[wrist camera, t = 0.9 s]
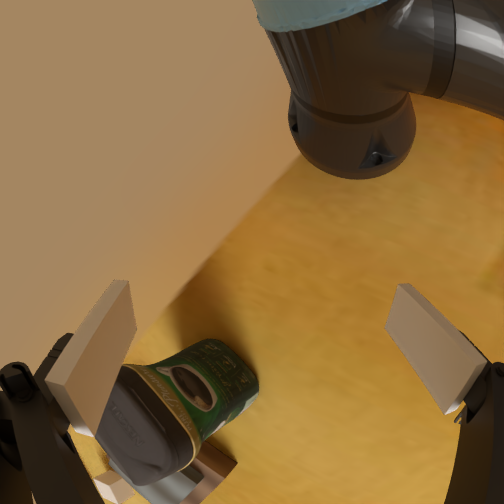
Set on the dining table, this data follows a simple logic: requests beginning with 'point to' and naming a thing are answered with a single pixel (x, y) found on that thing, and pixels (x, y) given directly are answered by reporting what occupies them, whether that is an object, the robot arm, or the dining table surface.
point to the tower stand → (187, 479)
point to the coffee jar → (173, 409)
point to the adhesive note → (113, 487)
